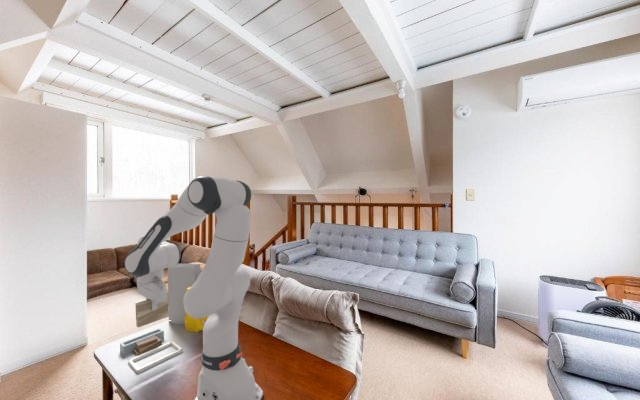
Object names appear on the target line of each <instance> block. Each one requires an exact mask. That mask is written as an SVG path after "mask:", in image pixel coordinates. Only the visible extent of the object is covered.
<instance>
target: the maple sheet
mask: <svg viewBox="0 0 640 400" xmlns="http://www.w3.org/2000/svg"><path fill="white" fill-rule="evenodd" d="M134 304H135V326H136V327H137V328H141V327H144V326H147V325H149V324H151V323H155V322H158V321H160V320H161V321H162V320H163V319H167V318H169V308H168V294H167V299H166V301H163V302H160V303H158V305H157V309H156V310H152V309H151V305H152V302H151V300H150V299H149V300H146V299H145V300H142V301H139V302H136V303H134Z"/></svg>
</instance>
